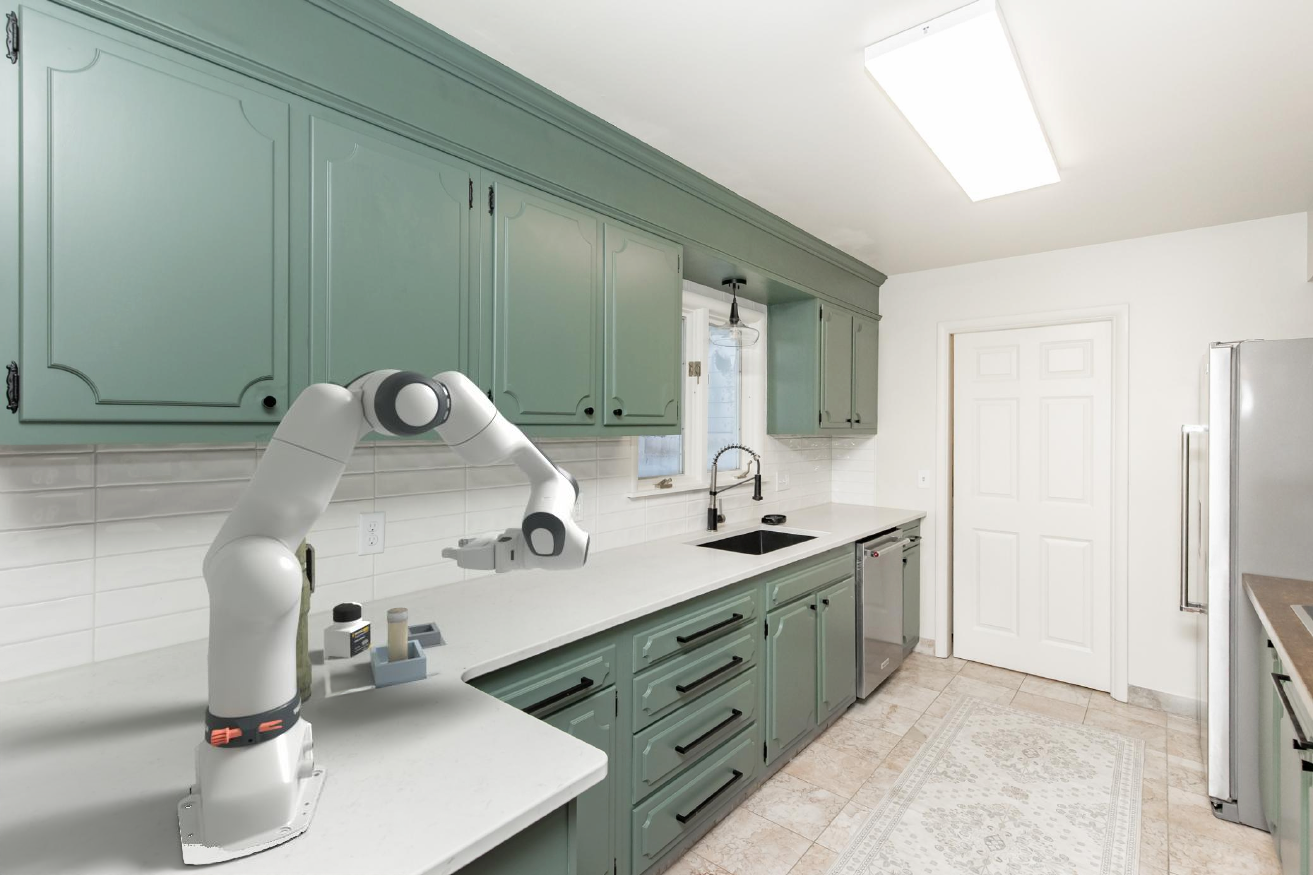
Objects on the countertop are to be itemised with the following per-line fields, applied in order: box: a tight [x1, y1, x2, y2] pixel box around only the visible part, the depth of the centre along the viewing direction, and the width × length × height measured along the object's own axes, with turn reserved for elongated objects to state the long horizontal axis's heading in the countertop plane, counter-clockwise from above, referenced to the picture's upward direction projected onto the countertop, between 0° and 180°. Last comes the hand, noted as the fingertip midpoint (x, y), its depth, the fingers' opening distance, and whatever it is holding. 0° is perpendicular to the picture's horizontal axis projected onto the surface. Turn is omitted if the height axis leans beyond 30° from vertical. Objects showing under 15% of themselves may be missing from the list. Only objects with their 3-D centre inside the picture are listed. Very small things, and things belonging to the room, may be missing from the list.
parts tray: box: [369, 640, 427, 689], centre depth 135 cm, size 12×10×4 cm
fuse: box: [386, 607, 409, 663], centre depth 135 cm, size 4×4×13 cm
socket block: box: [408, 621, 447, 650], centre depth 151 cm, size 10×10×4 cm
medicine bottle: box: [323, 601, 372, 661], centre depth 144 cm, size 7×7×12 cm
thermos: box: [295, 537, 316, 705], centre depth 121 cm, size 9×12×35 cm
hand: (451, 547), depth 133 cm, fingers open, 8 cm apart
